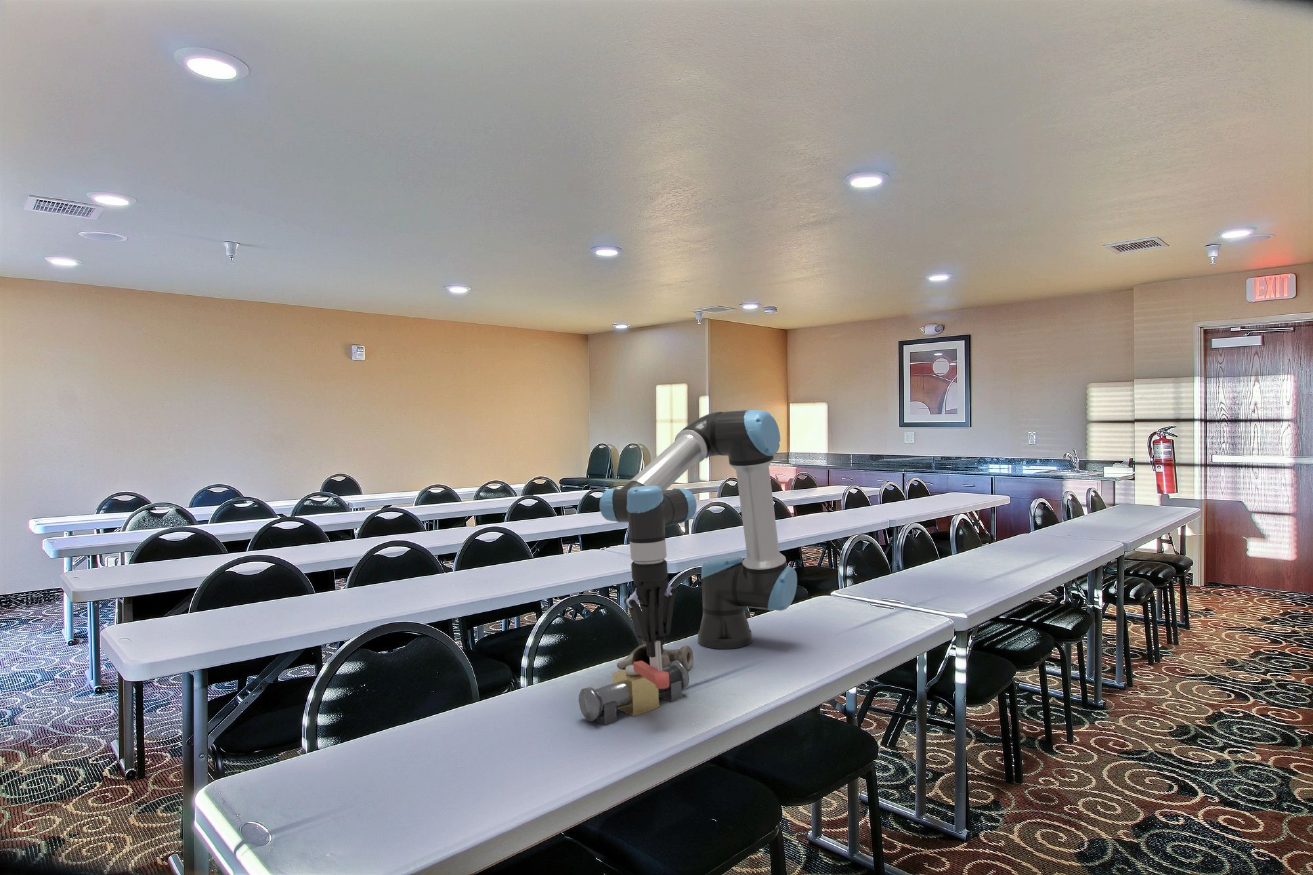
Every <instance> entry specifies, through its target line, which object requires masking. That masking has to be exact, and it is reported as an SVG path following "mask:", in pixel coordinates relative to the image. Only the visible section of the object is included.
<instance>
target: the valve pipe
mask: <svg viewBox="0 0 1313 875" xmlns="http://www.w3.org/2000/svg"><path fill="white" fill-rule="evenodd" d="M662 671H666V672H668V673H669V687H668V688H665V689H659V688H656V686H655V684H654V683H652V682H651V681H649V680H647V679H646V678H644V677H643V676H641V675H640V674H639V675H629V674H627V673H626V670H619V671H616V672H613V673H612V683H611V684H608V685H604V686H601V687H598V688H593V687H591V686H587V687H584V688H582V689H581V690H580V692H579V695H578V705H579V709H580V712H581V714H582V716H583V717H584V718H585V720H587V721H589V722H593V721H596V722H598V723H600V724H602V725H604V726H606V725H609V724H612V723H614V722H617V710H618V711H619V710H620V712H623V713H625V714H628V715H630V716H632V717H636V716H638V715H641V714H643V713H647V712H650V711H652V710H655V709H658V708H660V699H659V698H661V699H664V700H665V701H666V700H667V701H669V702H675V701H679V700H682V699H683V693H682V691H684V690H686V689H688V686H689V684H690V674H689V670H688V671H687V668H686V667H685V665H684V664H683V663H682V662H681V661H678V660H676V661H673V662H670V663H669V664H668V666H667V667H665V668H662Z"/></svg>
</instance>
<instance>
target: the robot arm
mask: <svg viewBox="0 0 1313 875" xmlns="http://www.w3.org/2000/svg"><path fill="white" fill-rule="evenodd" d="M780 442H781V433H780V428H779V426H778V423H777V421H776V419H775V418H774V416H772V414H771V413H770V412H769V411H766V410H762V409H761V410H756V409H743V410H732V411H731V410H729V411H728V410H727V411H714V412H711V413H708V414H706V415H703V416H700V417H699V418H696V419H695V420H694V421H692V422H691V423H689V424H687V426H685V427H683V429H681V430H680V431H679V432H678V433H677V434H675V438H674V442H673V443H671V444H670V445H669V446H668V447H666V449H664V450H663V451H662V452H661V453H659V454H658V455H657V456H656V457H655V458H654V459H653V460H652V461H651V462H649V463H648V464H647V465H646V466H645V467H644V468H643V469H642V470H640V472H638V473H636V475H635V476H634V477H632V478H631V479H630V480H629V481H628V482H627V483H626V484H624V485H623V486H622V487H621V488H617V487H616V488H611V489H607V490H605V491H604V492H603V493H602V495H601V496H600V499H599V511H600V514H601V516H602V517H603V519H605V520H607V521H611V522H617V523H628V531H629V533H628V534H629V549H630V552H629V553H630V560H631V561H632V562H631V563H630V568H631V578H632V580H633V587H632V594H631V595H630V596H629V598H628V597H626V598H624V599H623V603H624V605H625V606H626V607H627V609H628V611H629V614H630V617H631V621H632V625H633V628H634V631H635V634H636V637H637V640H639V641H643V642H645V644H646V649H647V656H648V657H650V666H651V667H653V668H655V669H656V670H658V671H662V661H661V655H662V654H663V649H664V644H663V642H664V641H666V639H667V636H669V635H670V633H671V628H672V620H673V619H672V618H673V613H674V612H673V611H674V604H675V599H676V596H677V593H678V589H677V588H676V587H672V586H670V585H669V582H668V580H667V577H668V561H667V560H666V558H667V543H666V530H665V528H667V527H671V526H673V525H677V524H682V523H685V522H686V521H689V520H690V519H692V518H693V517H694V516H695V514H696V512H697V509H698V508H697V506H698V504H697V500H696V499H697V498H696V497H695V495H694V494H693V492H692V491H691V490H689V489H687V488H683V487H682V488H678V487H676V488H672V489H669V488H670V487H671V486H672V485H673V484H674V483H675V482H676V481H678V479H679V478H680V477H681V476H683V474H685V473H686V472H687V471H688V470H689V469H690V468H691V467H692V466H693V465H694V464H698V463H701V462H703V461H704V460H705V459H706V458H708V457H709V458H710V457H715V456H727V457H728V464H729V466H730V467H732V468H733V469H734V470H735V471H736V472H735V473H736V480H737V488H738V489H737V490H738V494H739V497H738V498H739V502H740V504H739V505H740V510H741V517H742V518H741V519H742V526H743V534H744V541H745V542H744V543H745V551H746V556H745V557H744V559H743V557H741V556H724V557H718V558H714V559H710V560H707V561H705V562H704V563H703V564H702V565H701V577H700V579H701V594H702V618H701V621H700V627H699V630H698V632H697V642H698V644H699V645H700V646H703V647H706V648H708V649H709V648H710V649H719V650H725V649H726V650H727V649H728V650H729V649H731V650H732V649H738V648H743V647H746V646H748V645H750V644H751V643H752V642H753V632H752V629H751V628H750V625H749V621H748V618H747V616H746V612H745V608H752V609H759V610H767V611H769V612H770V611H771V612H772V611H779V612H780V611H781V612H782V611H785V610H787V609H788V608H789V607H790V606H791V604H792V603H793V601H794V599H795V596H796V592H797V587H798V574H797V571H796V570H795V568H793V567H792V566H788V565H787V559H786V556H785V555H783V554H782V553H781V552H780V547H779V539H778V538H779V537H778V531H777V523H776V515H775V506H774V498H773V497H774V496H773V490H772V489H773V488H772V482H771V480H772V479H771V474H770V465H771V464H772V462H774V460H775V458H774V455H776V454H777V453H778V452H779V449H780Z"/></svg>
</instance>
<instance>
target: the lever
mask: <svg viewBox="0 0 1313 875" xmlns="http://www.w3.org/2000/svg"><path fill="white" fill-rule="evenodd" d="M626 673H627V674H629V675H639V674H640V675H641V676H643V677H644V678H646V679H647V680H649V681H651V682H652V683H654V684H655V686H656V688H659V689H665V688H668V687H669V673H668V672H666V671H658V670H656V669H655V668H653V667H651V666H650V665H648V664H646V663H645V662H643V661H637V662H633V665H629V666H627V667H626Z"/></svg>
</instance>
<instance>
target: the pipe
mask: <svg viewBox="0 0 1313 875" xmlns="http://www.w3.org/2000/svg"><path fill="white" fill-rule="evenodd" d="M676 660H678V661H681V662H682V663H683V664H684V665H685V667H686V668H687V671H688V672H689V671H690V670H691V669H692V667H693V664H694V656H693V649H692V648H691V647H690V645H687V644H686V645H684V646H681V647H680V648H677V649H676V648H675V649H669V648H668V649H667V648H665V649H664V648H663V654H662V655H661V661H662V668H665V667H667V666H668V664H669V663H670V662H673V661H676ZM637 661H643V662H645V663H646V664H648V665H650V657H648V656H647V649H646V643H643V644H640V645H638V646H637V647H635V648H634V649H633V650H632V651H631V652H630V653H629V654H628V655H627V656H626V657H625V658H624V659H622V660H619V661H618V662H616V667H617V669H618V670H619V671H622V670H626V667H627V666H629V665H633V662H637Z"/></svg>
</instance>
